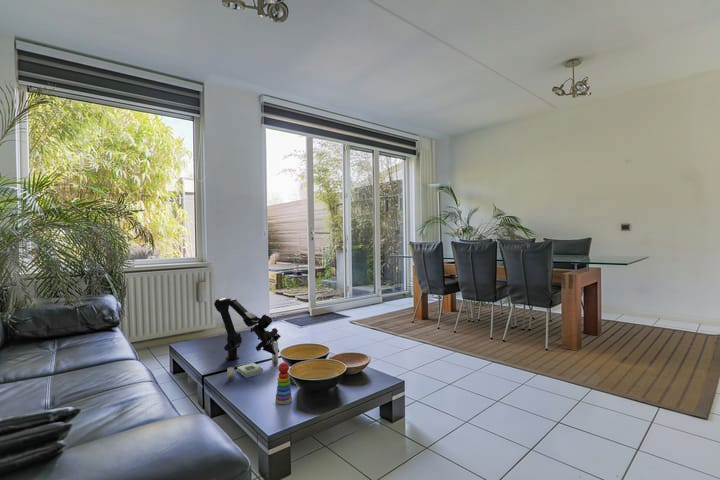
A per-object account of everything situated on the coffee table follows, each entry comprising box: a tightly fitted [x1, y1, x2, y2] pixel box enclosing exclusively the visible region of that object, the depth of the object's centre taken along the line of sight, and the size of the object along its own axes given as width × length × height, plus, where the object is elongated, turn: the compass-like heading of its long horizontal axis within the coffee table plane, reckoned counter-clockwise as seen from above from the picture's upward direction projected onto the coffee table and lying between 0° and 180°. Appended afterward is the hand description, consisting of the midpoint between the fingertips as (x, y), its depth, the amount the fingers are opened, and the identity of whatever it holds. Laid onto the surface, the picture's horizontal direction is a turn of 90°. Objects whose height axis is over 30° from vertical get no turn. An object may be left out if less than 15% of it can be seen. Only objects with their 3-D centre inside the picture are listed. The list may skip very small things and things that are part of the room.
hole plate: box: [236, 362, 264, 379], centre depth 211 cm, size 12×10×2 cm
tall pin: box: [271, 341, 279, 366], centre depth 221 cm, size 4×4×13 cm
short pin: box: [226, 366, 235, 381], centre depth 201 cm, size 4×4×6 cm
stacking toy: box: [274, 361, 293, 406], centre depth 175 cm, size 8×8×19 cm
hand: (276, 353), depth 221 cm, fingers closed on tall pin, 4 cm apart
